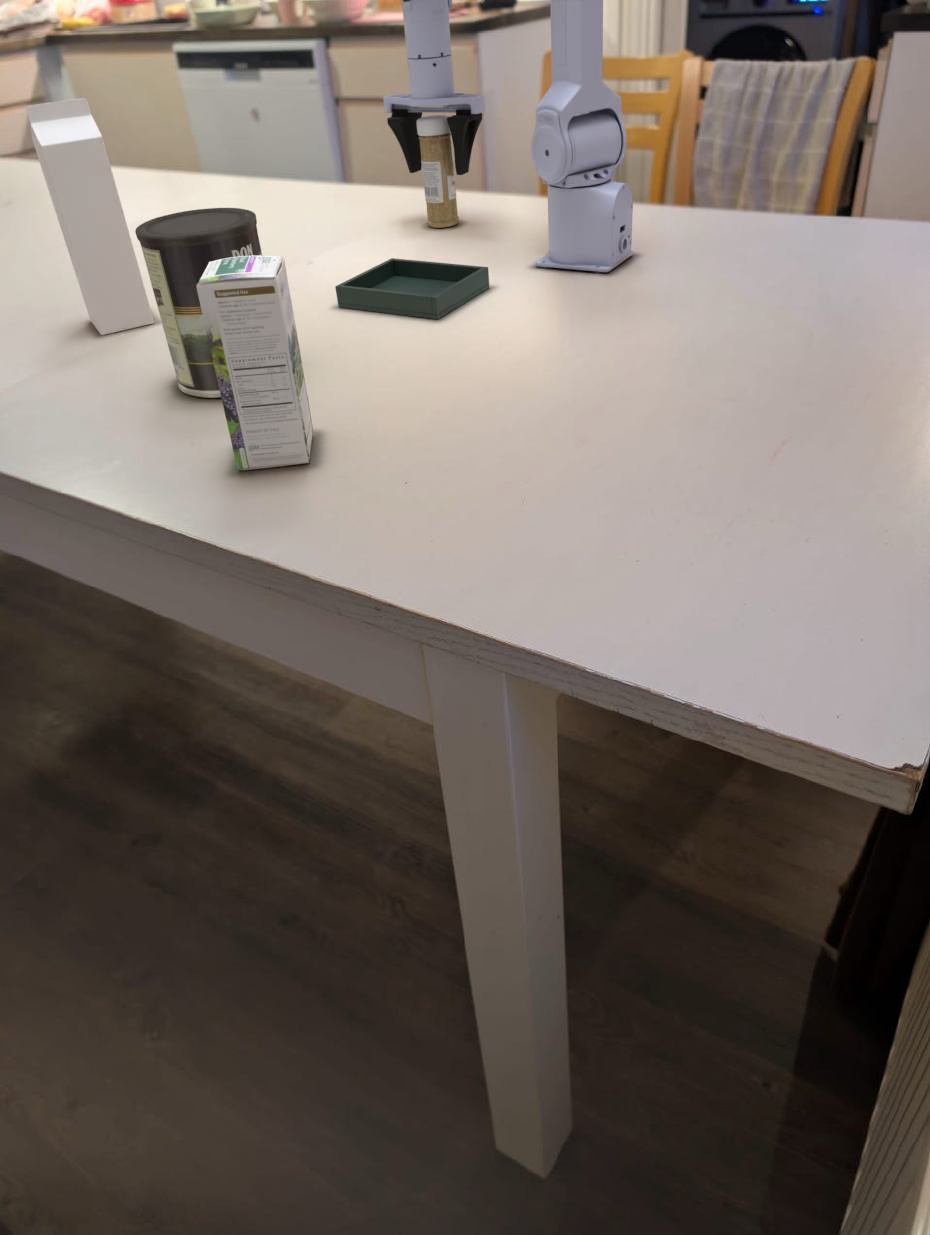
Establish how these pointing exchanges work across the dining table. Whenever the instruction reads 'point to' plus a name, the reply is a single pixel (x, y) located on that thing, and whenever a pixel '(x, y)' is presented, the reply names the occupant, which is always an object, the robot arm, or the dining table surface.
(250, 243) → the coffee can
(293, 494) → the dining table surface
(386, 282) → the serving tray
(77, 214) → the milk
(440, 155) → the sprinkles bottle
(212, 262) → the syrup box
